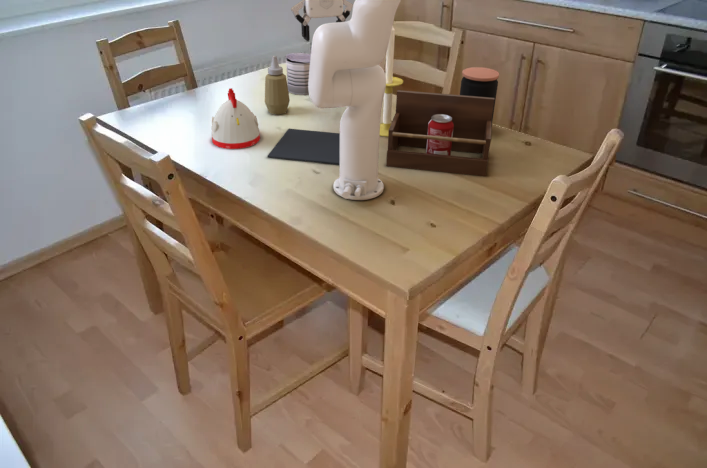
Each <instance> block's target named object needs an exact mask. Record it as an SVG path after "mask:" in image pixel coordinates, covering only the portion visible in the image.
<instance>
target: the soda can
mask: <svg viewBox="0 0 707 468" xmlns="http://www.w3.org/2000/svg"><path fill="white" fill-rule="evenodd" d="M453 128H454V124H453V122H452V117H450V116H448V115H444V114H436V115H433V116H432V117H431V120H430V122H429V123H428V134H427V135H431V136H442V137H453ZM451 146H452V141H442V140H432V139H427V146H426V148H425V153H429V154H439V155H450V156H452V151H451Z"/></svg>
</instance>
